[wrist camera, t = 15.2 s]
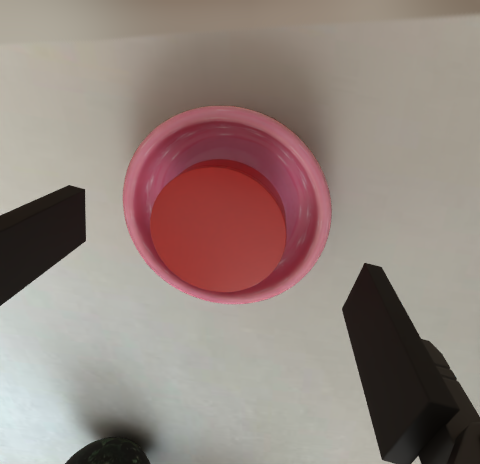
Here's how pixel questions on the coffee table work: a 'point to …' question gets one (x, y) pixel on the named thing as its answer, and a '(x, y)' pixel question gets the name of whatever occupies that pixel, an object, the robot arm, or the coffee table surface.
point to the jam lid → (219, 226)
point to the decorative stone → (110, 453)
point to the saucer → (244, 151)
